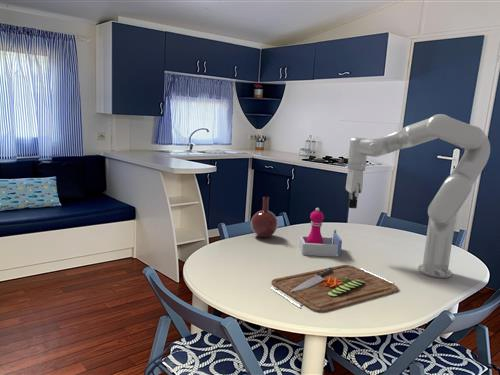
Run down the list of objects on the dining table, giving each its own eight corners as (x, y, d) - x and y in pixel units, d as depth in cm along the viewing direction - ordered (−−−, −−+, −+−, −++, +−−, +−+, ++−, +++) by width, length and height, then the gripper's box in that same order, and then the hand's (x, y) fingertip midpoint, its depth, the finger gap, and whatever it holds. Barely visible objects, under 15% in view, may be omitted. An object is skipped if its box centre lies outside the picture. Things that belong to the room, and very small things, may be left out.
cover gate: (340, 255, 182) (342, 238, 181) (338, 255, 182) (339, 238, 181) (334, 246, 195) (336, 229, 194) (331, 246, 195) (333, 229, 194)
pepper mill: (323, 254, 185) (327, 210, 181) (306, 252, 185) (310, 209, 181) (320, 248, 192) (324, 206, 188) (305, 247, 192) (308, 205, 188)
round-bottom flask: (250, 232, 212) (252, 193, 209) (276, 233, 212) (279, 195, 208) (249, 239, 199) (252, 198, 196) (277, 241, 199) (280, 200, 195)
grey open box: (336, 256, 182) (337, 245, 182) (302, 254, 182) (303, 243, 181) (330, 247, 195) (331, 237, 194) (298, 245, 194) (299, 235, 193)
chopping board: (310, 317, 127) (311, 308, 127) (261, 284, 149) (262, 276, 149) (406, 290, 151) (407, 282, 151) (351, 266, 173) (352, 259, 173)
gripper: (343, 163, 187) (340, 203, 191) (352, 168, 173) (348, 211, 176) (360, 164, 188) (356, 204, 191) (370, 169, 173) (365, 212, 176)
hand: (352, 207), depth 183 cm, fingers closed
